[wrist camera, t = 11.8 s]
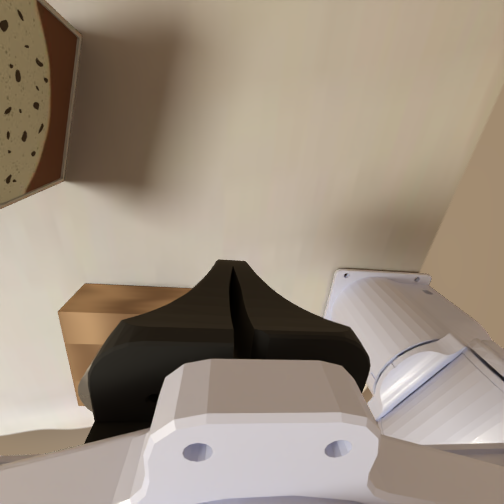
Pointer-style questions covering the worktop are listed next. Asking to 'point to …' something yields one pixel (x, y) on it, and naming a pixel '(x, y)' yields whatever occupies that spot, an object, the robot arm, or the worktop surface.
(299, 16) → the worktop surface
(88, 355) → the block
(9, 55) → the food container
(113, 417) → the robot arm
